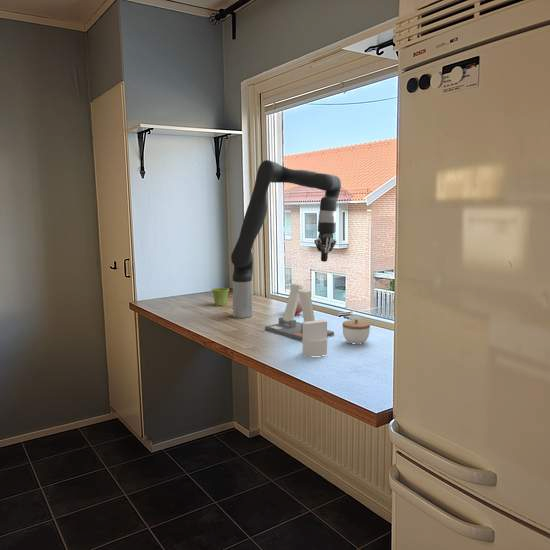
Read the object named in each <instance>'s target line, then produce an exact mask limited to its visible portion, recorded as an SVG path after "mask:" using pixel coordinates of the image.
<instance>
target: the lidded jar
mask: <svg viewBox="0 0 550 550" xmlns="http://www.w3.org/2000/svg"><path fill="white" fill-rule="evenodd" d="M370 327H371V324H370V322H368V321H365V320H358V319H357V318H355V319H352V320H345V321H343V322H342V334H343V337H344V339H345V340H346V342H347V343H348V342H349V343H348V344H350V343H355V344H360V343H363V344H364V343H365V342H366V341H367V340H368V338H369V335H370V329H371V328H370ZM360 345H361V344H360Z"/></svg>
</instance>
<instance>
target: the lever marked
mask: <svg viewBox="0 0 550 550" xmlns="http://www.w3.org/2000/svg"><path fill="white" fill-rule="evenodd" d="M298 293H299V295H300V300H301V306H302V312H301V313H302V319H303V322H308V321H316V319H315V315H314V307H313V301H312V291H311V290H309V289H303V288H302V289H301V290H299V291H298Z"/></svg>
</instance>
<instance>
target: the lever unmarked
mask: <svg viewBox="0 0 550 550" xmlns="http://www.w3.org/2000/svg"><path fill="white" fill-rule="evenodd" d="M303 288H304V286H302V285H299V284H294V283H292V284H290V291H289V295H288V297H289V298H288V297H287V298H288V299H287V301H288V302H287V301H286V306H285V310H284V313H283V316H282V317H283V321H282V322H283V323H285V324H289V321H290V320H295V315H296V314H295V312H296V308H297V305H298V301H299V297H300V295H299V293H298V291H299V290H301V289H303Z"/></svg>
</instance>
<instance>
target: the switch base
mask: <svg viewBox="0 0 550 550" xmlns="http://www.w3.org/2000/svg"><path fill="white" fill-rule="evenodd" d="M282 321H283V316H282V317H281V316H280V317H278V323H274V324H269V325H265V326H264V330H265V331H268V332H272V333H275V334H278V335H282V336H284V337H288V338H290V337H291V338H290V339H294V340H297V339H298V340H297V341H300V340H302V341H301V342H303V322H299V321H297V320H296V319H293V320H290V321H289V324H285V323H283V322H282ZM332 335H334V336H335V332H334V331H332V330H328V329H327V338H329V337H333V336H332ZM328 336H329V337H328Z"/></svg>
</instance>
